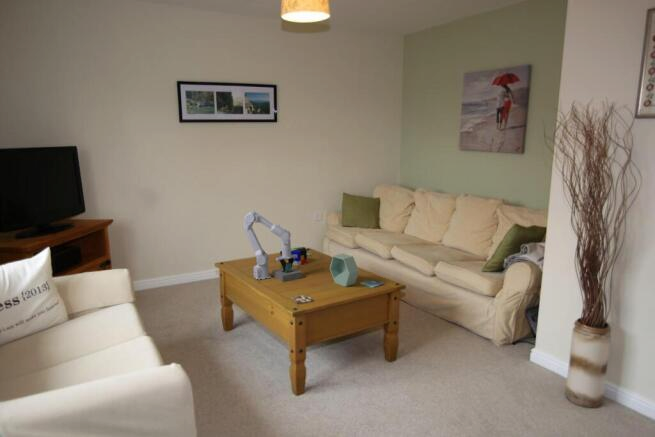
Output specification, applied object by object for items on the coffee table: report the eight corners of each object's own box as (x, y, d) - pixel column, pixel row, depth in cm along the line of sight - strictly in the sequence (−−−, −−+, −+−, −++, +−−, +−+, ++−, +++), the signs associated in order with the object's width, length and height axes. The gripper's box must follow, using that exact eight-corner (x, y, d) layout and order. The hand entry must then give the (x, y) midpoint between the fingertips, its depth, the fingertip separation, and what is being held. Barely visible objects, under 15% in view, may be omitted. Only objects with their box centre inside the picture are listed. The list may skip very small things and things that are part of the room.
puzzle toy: (298, 266, 331) (297, 252, 330) (287, 264, 337) (286, 250, 336) (307, 262, 339) (306, 249, 337) (296, 260, 345) (296, 247, 343)
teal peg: (286, 274, 303) (285, 264, 302) (283, 273, 306) (283, 263, 305) (291, 273, 305) (290, 263, 304) (288, 272, 308) (288, 262, 307)
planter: (338, 291, 291) (326, 260, 297) (347, 288, 296) (335, 258, 302) (352, 282, 279) (340, 250, 284) (362, 279, 283) (349, 248, 289)
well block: (282, 281, 297) (282, 275, 296) (273, 276, 309) (272, 270, 308) (302, 277, 304) (301, 271, 304) (291, 272, 316) (291, 267, 315)
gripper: (279, 252, 296) (280, 273, 298) (299, 249, 304) (299, 269, 306) (274, 250, 302) (275, 270, 304) (294, 247, 309) (294, 266, 312)
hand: (287, 269), depth 306 cm, fingers closed on teal peg, 4 cm apart
